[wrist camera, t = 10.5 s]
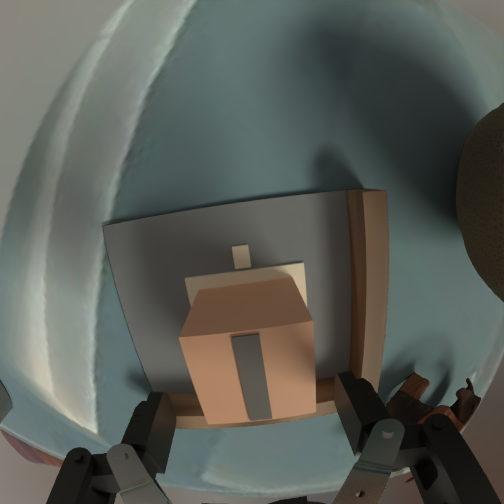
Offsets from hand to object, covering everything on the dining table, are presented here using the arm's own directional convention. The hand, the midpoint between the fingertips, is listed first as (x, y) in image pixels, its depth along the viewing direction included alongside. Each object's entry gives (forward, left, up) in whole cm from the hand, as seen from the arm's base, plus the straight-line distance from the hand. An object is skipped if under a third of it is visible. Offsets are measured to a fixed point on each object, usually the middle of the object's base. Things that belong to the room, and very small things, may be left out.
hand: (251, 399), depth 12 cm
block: (0, 0, -7) cm, 7 cm away
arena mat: (-1, +1, -7) cm, 8 cm away
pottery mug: (+15, -13, -8) cm, 22 cm away
